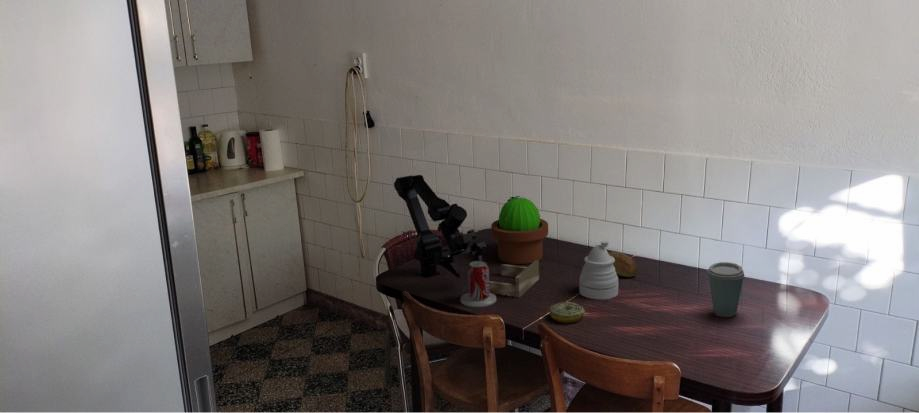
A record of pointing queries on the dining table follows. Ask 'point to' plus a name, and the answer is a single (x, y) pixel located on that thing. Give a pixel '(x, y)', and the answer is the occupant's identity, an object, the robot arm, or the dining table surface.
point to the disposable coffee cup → (725, 287)
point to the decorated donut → (566, 312)
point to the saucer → (477, 301)
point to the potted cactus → (519, 232)
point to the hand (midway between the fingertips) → (470, 274)
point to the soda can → (478, 280)
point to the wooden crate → (523, 279)
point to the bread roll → (624, 264)
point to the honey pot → (599, 274)
